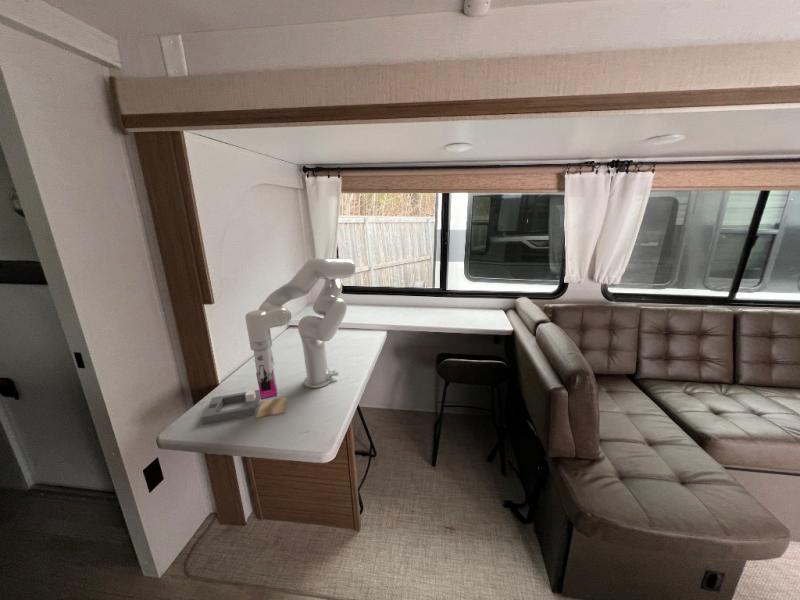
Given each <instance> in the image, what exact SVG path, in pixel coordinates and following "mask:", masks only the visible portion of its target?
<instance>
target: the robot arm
mask: <svg viewBox="0 0 800 600" xmlns="http://www.w3.org/2000/svg"><path fill="white" fill-rule="evenodd" d="M355 272H356V264H355V263H354V261H352V260H351V259H349V258H339V257H329V258H318V257H316V258H315V257H314V258H310V259H308V260H307V261H306V262H305V263H304V265H303V266H301V268H300V269H299V270H298V271H297V272H296V274H295V275H294V276H293V277H292V279H291V280H289V282H287V283H285V284H283V285H282V286H280V287H278V288H277V289H275V290H274V291H273V292H272V293H270V294H269V295H268V296H267V297H266V298H265V299H264V301H262V303H261V304H260V306H259V308H258V309H256V310H252V311H249V312H247V313H246V314H245V322H246V323H245V324H246V329H247V336H248V341H249V346H250V350H251V351H253V356H254V363H255V371H256V372H257V374H258V375H260V383H261V389H262V391H268V390H271V385H270V380H269V377H268V374H271V373H272V370H273V369H274V366H275V359H274V355H273V349H272V347H273V339H272V333H271V329H272V328H279V327H283V326H285V325H288V323H290V321H291V320H292V312H291V311H290V310H289V309H288V308H286V307H283V306H284V305H285V304H286V303H288V302H290V301H292V300H296V299H299V298H303V297H305V296H307V295H308V294H309V293H310V291H311V290H312V289H313V287H314V286H315V285H316V284H317V283H318V281H319V280H320V279H322V280H324V284H323V286H322V289H321V290H320V292H319V293H318V295H317V296H316V299H315V300H314V302H313V305H312V310H313V312H314V314H316V315H318V316H315V315H305V316H303V317H302V318H300V320H299V322H298V325H297V329H298V334H299V336H300V340H301V343H302V349H303V356H304V365H305V373H306V377H305V378H304V380H303V383H304V386H305V387H306V388H309V389H317V388H322V387H323V388H324V387H325V386H328V385H329V384H330V383H331V382H332V381H333V377H337V376H339V371H336V369H332V370H330V369H329V367H328V360H327V352H326V351H327V350H326V342H329V341H331V340H332V339H333V338H334V337H335V335H336V334H337V331H338V329H339V328H340V326H341V324H342V321H343V320H344V318H345V316H346V313H347V304H346V303H347V302H346V301H345V300H344V299H343V298H340V296H341V294H342V291H343V283H342V279H343V280H345V279H350V278H352V276H354V274H355ZM320 316H321V317H320ZM264 372H266V373H264ZM264 375H266V377H265V376H264Z"/></svg>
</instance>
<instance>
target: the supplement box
mask: <svg viewBox="0 0 800 600" xmlns="http://www.w3.org/2000/svg"><path fill="white" fill-rule="evenodd" d="M264 373H266V372H264ZM255 374H256V380H257V384H258V390H259V391H260V396H261V397H260V400H266V399H271V398H276V397H278V387H277V380H276V376H275V369H274V368H273V370H272V373H271V374H268V377H269V380H270V385H271V390H268V391H262V389H261V383H260V375H258V374H257V371H256V372H255ZM264 376H265V377H266V375H264Z"/></svg>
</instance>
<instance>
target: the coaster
mask: <svg viewBox="0 0 800 600" xmlns="http://www.w3.org/2000/svg"><path fill="white" fill-rule="evenodd" d="M286 404H287V397H280V398H274V399H268V400H263V401H260V404H259V407H258V410H257V412H256V418H257V419H258V418H264V417H269V416H274V415H275V416H276V415H281V414H285V412H286V406H287V405H286Z"/></svg>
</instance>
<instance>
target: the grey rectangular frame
mask: <svg viewBox="0 0 800 600" xmlns="http://www.w3.org/2000/svg"><path fill="white" fill-rule="evenodd" d="M260 400H261V396H260V391H259V389H256V390H255V389H253V390H247V391H245V392H244V391H243V392H238V393H233V394H232V393H231V394H226V395H225V394H224V395H221V396H214V397H213V396H212V398H211V400H210V401H209V403H208V405H207V407H206V408H205V410H204V411H203V413H202V415H201V416H200V417H201V423H202V425H206V424H211V423H215V422H217V423H218V422H221V421H227V420H231V419H233V420H234V419H238V418H243V417H249V416H254V415H256V414H257V411H258V410H257V409H258V408H259V407H258V406H259V405H260V404H259V402H260ZM240 402H244V404H243V405H242V407H237V408H233V409H226V410H223V407H224V405H229V404H234V403H240Z"/></svg>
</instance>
